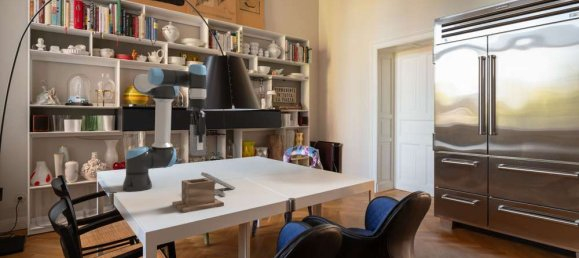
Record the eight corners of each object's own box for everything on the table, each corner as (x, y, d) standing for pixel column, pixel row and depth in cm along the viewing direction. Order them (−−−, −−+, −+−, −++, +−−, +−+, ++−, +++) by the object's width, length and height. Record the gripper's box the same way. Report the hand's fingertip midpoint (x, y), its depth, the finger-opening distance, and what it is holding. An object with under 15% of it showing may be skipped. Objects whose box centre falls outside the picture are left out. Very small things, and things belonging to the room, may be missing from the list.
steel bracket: (190, 154, 150) (189, 124, 149) (202, 154, 153) (202, 124, 153) (193, 155, 147) (193, 124, 146) (205, 155, 150) (205, 124, 150)
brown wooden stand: (172, 205, 151) (172, 180, 151) (210, 199, 163) (210, 176, 162) (183, 212, 139) (183, 186, 139) (223, 205, 151) (224, 181, 150)
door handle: (223, 198, 187) (195, 185, 175) (229, 185, 189) (201, 171, 177) (240, 204, 174) (211, 190, 162) (246, 190, 176) (218, 175, 164)
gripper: (183, 99, 154) (183, 148, 154) (196, 97, 140) (196, 151, 141) (198, 99, 158) (198, 147, 159) (213, 98, 144) (213, 150, 145)
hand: (197, 149), depth 150 cm, fingers closed on steel bracket, 4 cm apart
